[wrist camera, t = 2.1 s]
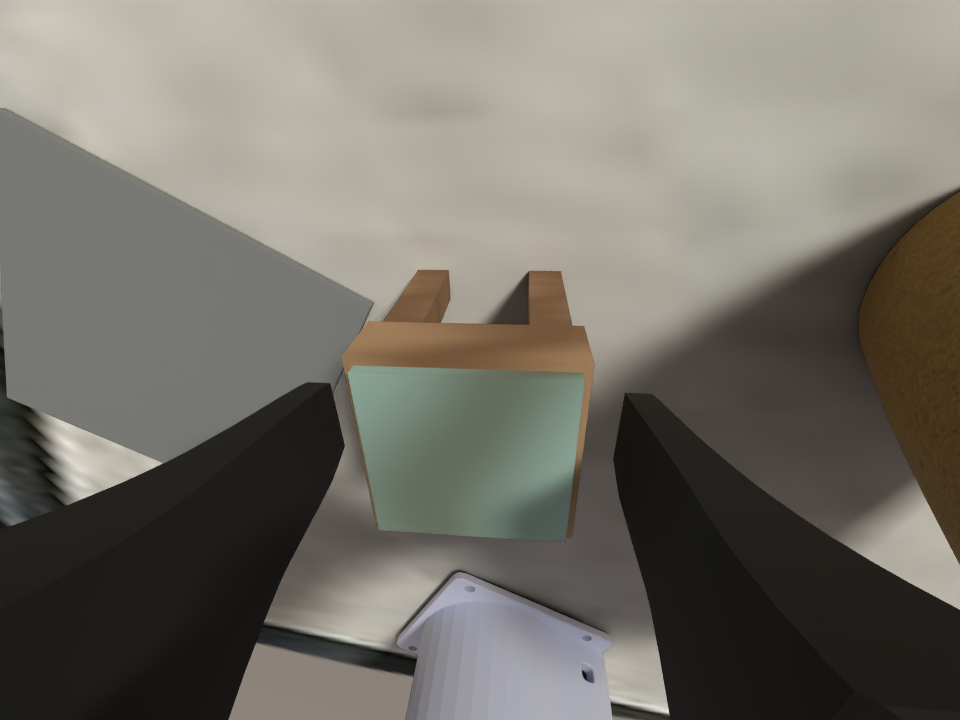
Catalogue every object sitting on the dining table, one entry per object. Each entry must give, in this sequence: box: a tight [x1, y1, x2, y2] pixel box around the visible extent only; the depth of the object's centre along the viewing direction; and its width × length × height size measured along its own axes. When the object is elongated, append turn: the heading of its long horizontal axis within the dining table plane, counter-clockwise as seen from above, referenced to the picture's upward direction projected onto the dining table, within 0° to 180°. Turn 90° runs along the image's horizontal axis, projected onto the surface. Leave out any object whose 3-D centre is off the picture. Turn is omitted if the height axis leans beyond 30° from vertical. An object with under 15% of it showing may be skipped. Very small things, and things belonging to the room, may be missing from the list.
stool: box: [342, 270, 594, 543], centre depth 12 cm, size 5×5×6 cm
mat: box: [0, 108, 374, 463], centre depth 17 cm, size 12×12×1 cm
